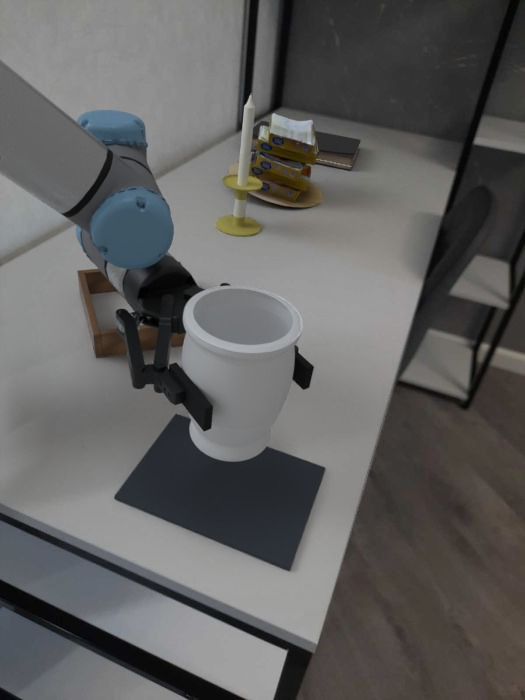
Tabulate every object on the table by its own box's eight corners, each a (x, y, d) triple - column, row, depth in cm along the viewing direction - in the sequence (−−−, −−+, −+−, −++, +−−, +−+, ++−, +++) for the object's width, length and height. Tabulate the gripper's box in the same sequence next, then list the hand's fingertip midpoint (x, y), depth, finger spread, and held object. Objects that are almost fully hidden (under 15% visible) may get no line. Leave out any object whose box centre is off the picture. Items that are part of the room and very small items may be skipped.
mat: (114, 499, 56) (113, 496, 56) (175, 415, 67) (175, 413, 66) (289, 571, 52) (289, 568, 51) (324, 470, 62) (325, 467, 62)
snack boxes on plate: (331, 185, 140) (345, 120, 130) (309, 218, 121) (323, 145, 111) (246, 166, 145) (252, 101, 135) (211, 194, 126) (216, 122, 115)
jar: (294, 420, 57) (319, 306, 48) (254, 488, 49) (275, 367, 40) (209, 386, 60) (218, 272, 51) (159, 445, 52) (158, 323, 43)
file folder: (243, 135, 153) (263, 118, 172) (242, 149, 156) (261, 131, 175) (353, 156, 149) (361, 137, 168) (350, 171, 152) (358, 150, 171)
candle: (268, 225, 116) (286, 93, 99) (247, 241, 108) (262, 102, 92) (230, 212, 118) (240, 82, 102) (206, 227, 111) (214, 89, 95)
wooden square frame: (95, 357, 74) (93, 335, 71) (79, 291, 86) (77, 270, 84) (210, 341, 80) (211, 319, 77) (179, 281, 93) (180, 261, 90)
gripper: (232, 287, 68) (345, 387, 55) (56, 333, 57) (144, 475, 43) (237, 235, 64) (361, 330, 51) (46, 273, 52) (142, 411, 39)
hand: (261, 397), depth 47 cm, fingers closed on jar, 10 cm apart
